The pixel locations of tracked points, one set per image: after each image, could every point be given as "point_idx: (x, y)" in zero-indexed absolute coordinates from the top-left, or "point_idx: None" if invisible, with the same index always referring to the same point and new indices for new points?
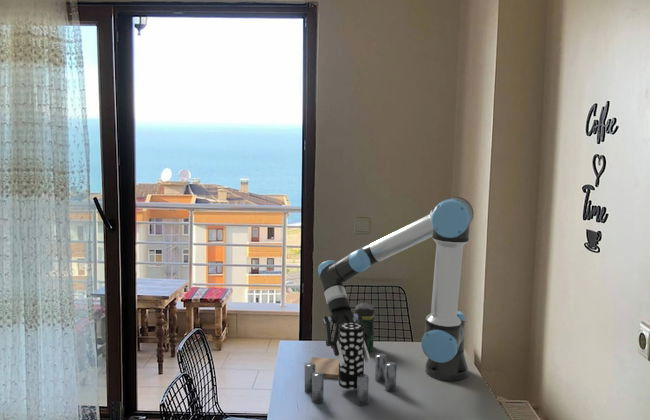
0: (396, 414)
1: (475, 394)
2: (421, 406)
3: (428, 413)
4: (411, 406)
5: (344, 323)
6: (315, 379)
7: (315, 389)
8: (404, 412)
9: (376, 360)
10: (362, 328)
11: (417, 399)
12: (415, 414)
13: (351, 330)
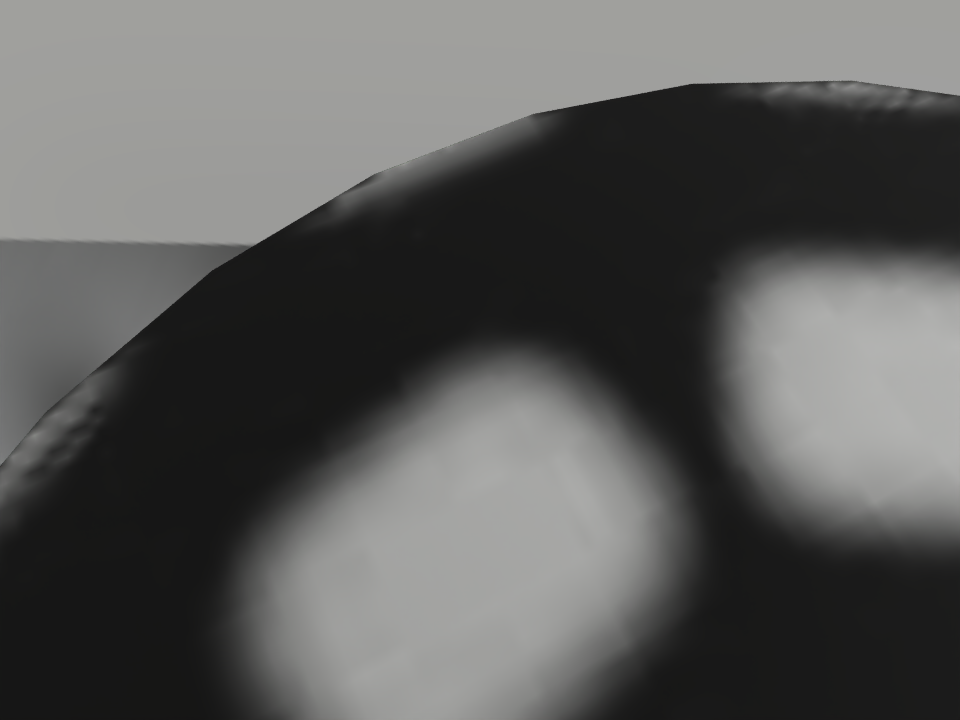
0: (234, 244)
1: None
2: (25, 340)
3: (21, 251)
4: (96, 342)
5: None
6: None
7: None
8: (174, 266)
9: None
10: (49, 443)
11: (5, 445)
12: (112, 241)
13: (857, 102)
